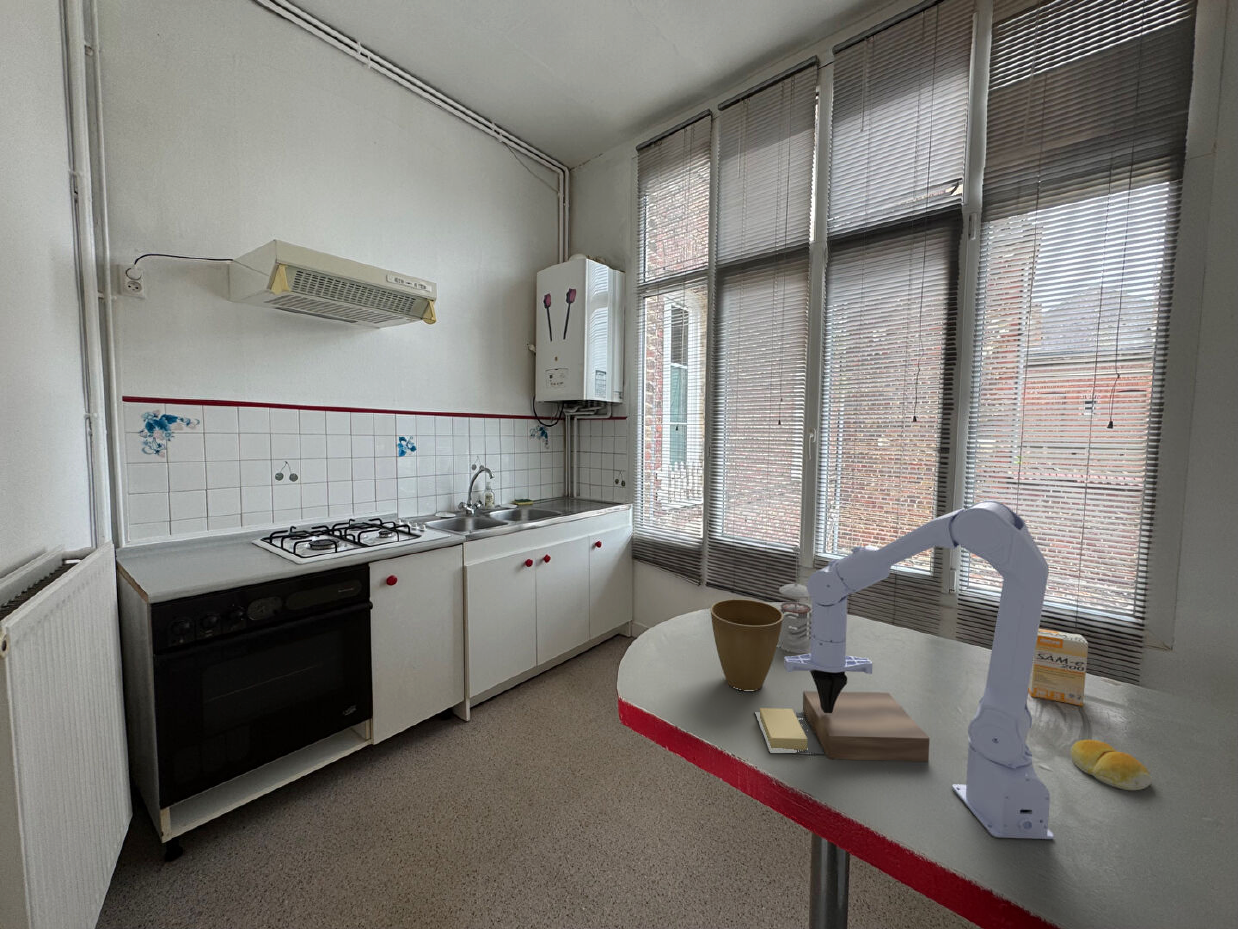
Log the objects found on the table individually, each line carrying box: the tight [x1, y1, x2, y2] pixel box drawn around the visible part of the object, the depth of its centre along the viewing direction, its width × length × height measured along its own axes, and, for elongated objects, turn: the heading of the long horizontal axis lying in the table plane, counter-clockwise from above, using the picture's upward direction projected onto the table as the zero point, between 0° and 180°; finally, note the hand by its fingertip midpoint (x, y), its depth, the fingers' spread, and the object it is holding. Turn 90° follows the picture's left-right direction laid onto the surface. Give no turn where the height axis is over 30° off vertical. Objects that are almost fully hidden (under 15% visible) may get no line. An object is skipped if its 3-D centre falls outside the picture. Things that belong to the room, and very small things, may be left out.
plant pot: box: [710, 598, 784, 690], centre depth 107 cm, size 15×15×16 cm
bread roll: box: [1070, 739, 1152, 791], centre depth 80 cm, size 8×9×4 cm
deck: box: [802, 690, 930, 762], centre depth 90 cm, size 14×16×4 cm
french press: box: [778, 546, 812, 654], centre depth 126 cm, size 10×12×25 cm
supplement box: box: [1028, 628, 1089, 707], centre depth 101 cm, size 8×5×13 cm, turn 62°
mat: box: [795, 711, 825, 755], centre depth 91 cm, size 12×9×1 cm
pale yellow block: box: [759, 707, 807, 750], centre depth 90 cm, size 9×6×2 cm, turn 177°
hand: (826, 710), depth 89 cm, fingers closed
